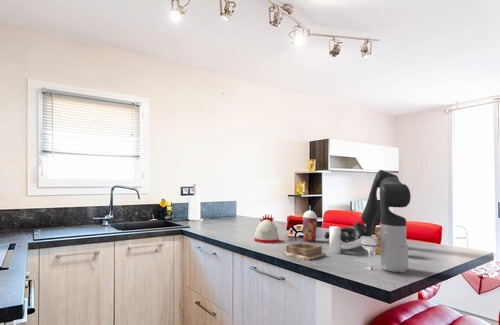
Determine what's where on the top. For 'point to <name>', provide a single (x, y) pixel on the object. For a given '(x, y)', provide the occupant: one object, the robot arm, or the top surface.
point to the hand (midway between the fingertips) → (333, 237)
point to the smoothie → (309, 225)
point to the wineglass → (369, 247)
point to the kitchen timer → (266, 231)
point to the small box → (378, 235)
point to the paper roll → (335, 240)
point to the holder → (304, 251)
